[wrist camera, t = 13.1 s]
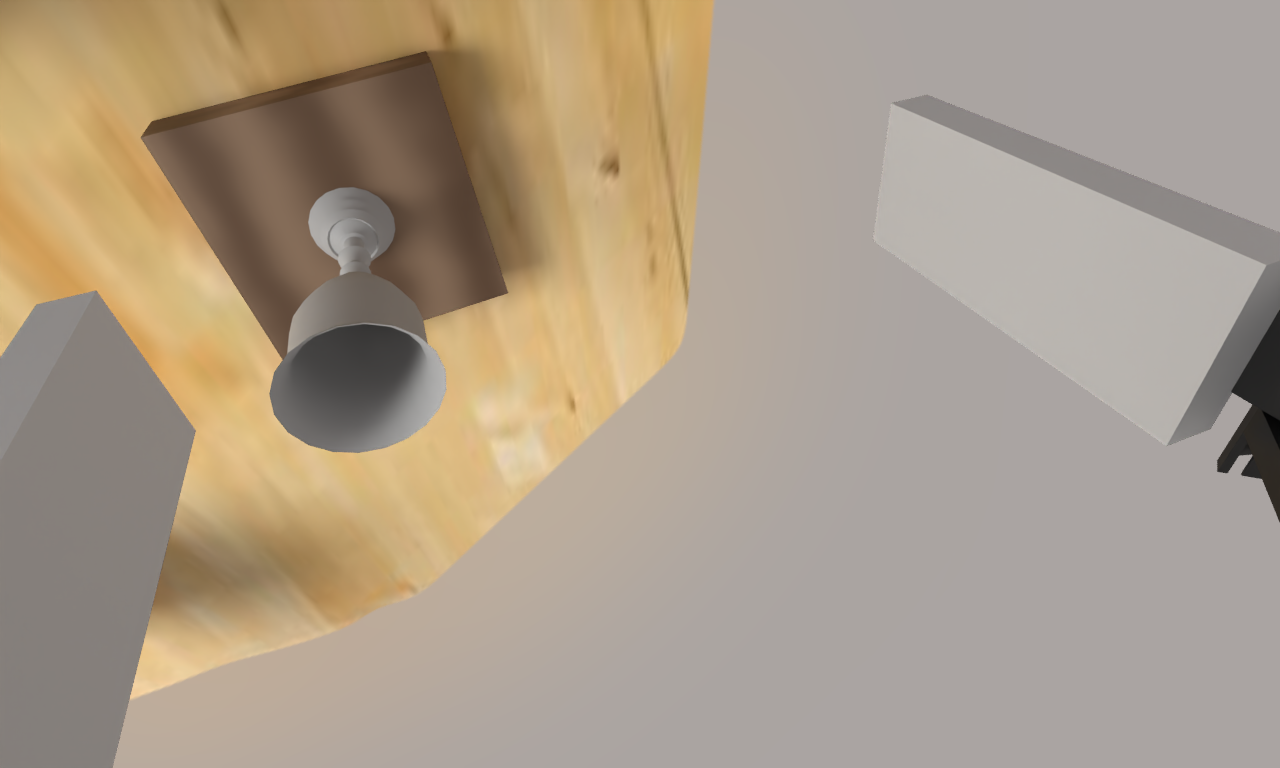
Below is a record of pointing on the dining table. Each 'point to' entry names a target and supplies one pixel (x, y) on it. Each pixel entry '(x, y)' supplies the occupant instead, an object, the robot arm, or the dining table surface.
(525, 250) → the dining table surface
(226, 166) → the plinth
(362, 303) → the chalice
